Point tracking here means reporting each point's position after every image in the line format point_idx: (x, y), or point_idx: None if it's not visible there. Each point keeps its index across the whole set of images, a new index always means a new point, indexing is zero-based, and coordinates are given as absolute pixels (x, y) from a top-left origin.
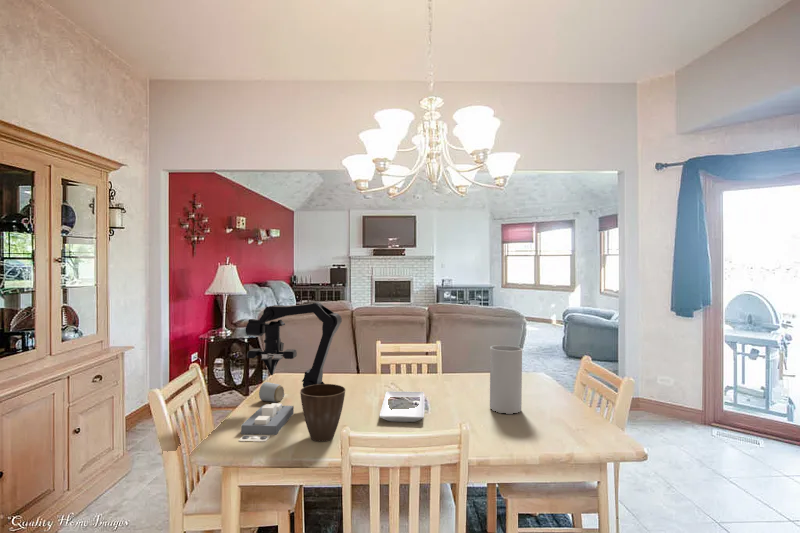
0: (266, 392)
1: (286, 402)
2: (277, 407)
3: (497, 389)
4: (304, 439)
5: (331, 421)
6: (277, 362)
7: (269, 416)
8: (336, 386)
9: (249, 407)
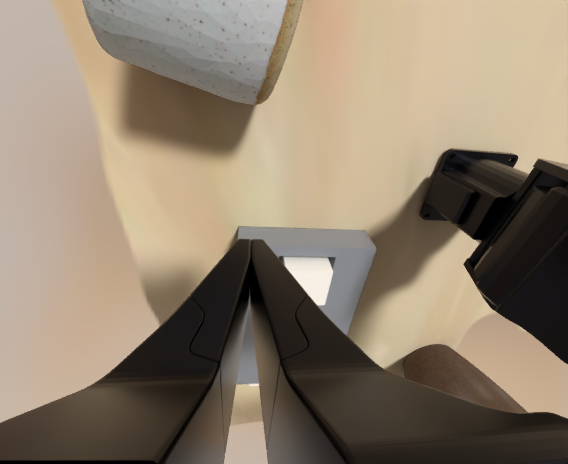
0: (184, 82)
1: (320, 58)
2: (317, 302)
3: None
4: (389, 367)
5: None
6: (353, 361)
7: None
8: None
9: (135, 153)
